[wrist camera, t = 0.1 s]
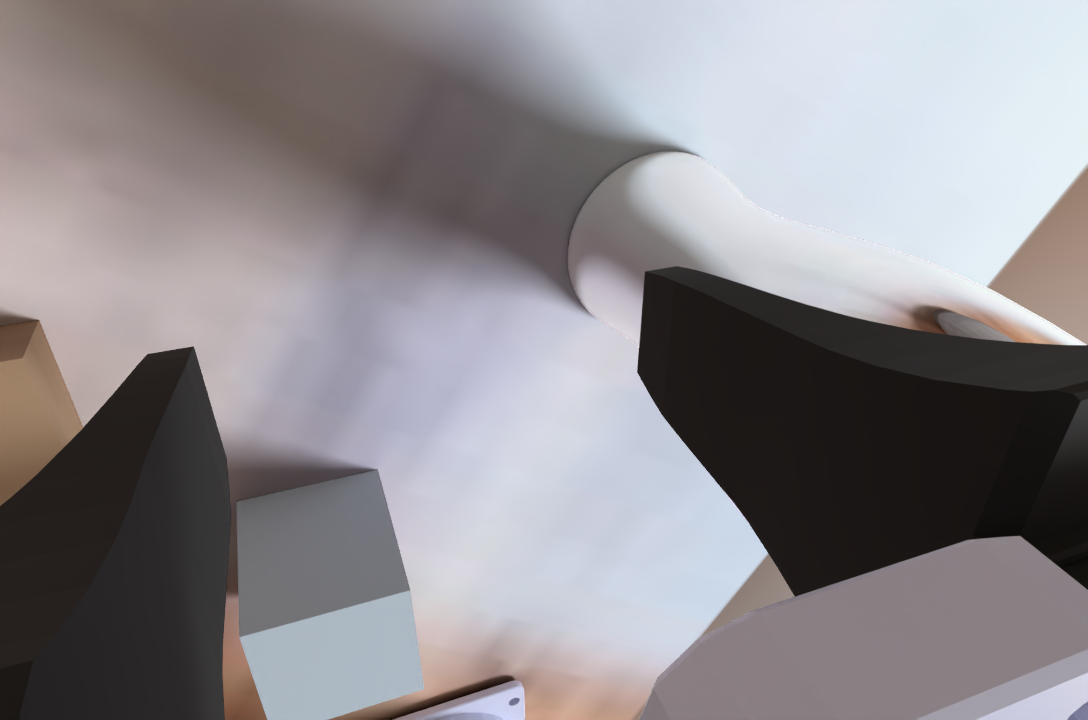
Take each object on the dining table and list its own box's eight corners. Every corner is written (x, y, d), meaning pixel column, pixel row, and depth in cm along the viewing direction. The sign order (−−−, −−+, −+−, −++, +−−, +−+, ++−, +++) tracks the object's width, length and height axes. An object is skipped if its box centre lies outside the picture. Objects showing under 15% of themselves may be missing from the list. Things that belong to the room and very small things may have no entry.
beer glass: (512, 293, 23) (814, 706, 12) (634, 91, 22) (1150, 338, 10) (666, 362, 27) (1015, 728, 15) (782, 196, 25) (1286, 467, 13)
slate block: (392, 562, 28) (424, 689, 23) (264, 596, 26) (273, 737, 22) (377, 468, 25) (410, 590, 21) (236, 500, 24) (239, 637, 19)
